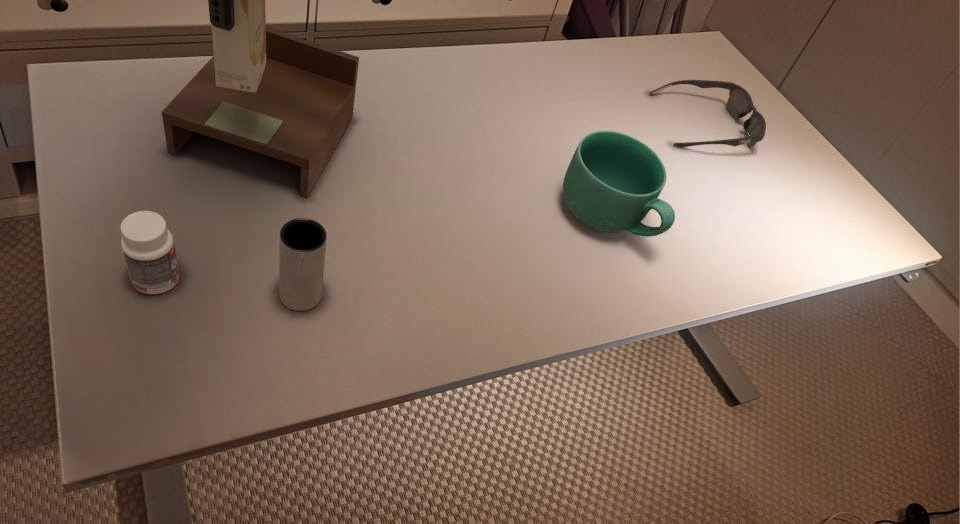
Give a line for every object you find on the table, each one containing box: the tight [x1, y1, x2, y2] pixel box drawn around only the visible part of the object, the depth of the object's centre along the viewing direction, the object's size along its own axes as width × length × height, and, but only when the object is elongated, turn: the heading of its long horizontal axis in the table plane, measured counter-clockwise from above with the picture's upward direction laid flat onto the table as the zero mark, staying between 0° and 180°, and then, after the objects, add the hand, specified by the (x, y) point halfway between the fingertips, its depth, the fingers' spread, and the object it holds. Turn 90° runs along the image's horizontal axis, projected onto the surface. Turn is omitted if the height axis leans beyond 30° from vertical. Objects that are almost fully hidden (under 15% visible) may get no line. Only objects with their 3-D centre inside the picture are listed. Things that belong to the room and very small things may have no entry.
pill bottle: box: [120, 210, 181, 295], centre depth 67 cm, size 5×5×8 cm
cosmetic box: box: [210, 0, 267, 93], centre depth 69 cm, size 6×4×12 cm
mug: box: [562, 130, 676, 238], centre depth 89 cm, size 17×13×10 cm
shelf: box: [161, 26, 360, 199], centre depth 84 cm, size 17×18×10 cm
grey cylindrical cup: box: [278, 217, 328, 312], centre depth 69 cm, size 4×4×10 cm
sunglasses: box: [649, 79, 767, 149], centre depth 113 cm, size 16×17×5 cm
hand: (239, 9), depth 67 cm, fingers closed on cosmetic box, 7 cm apart
